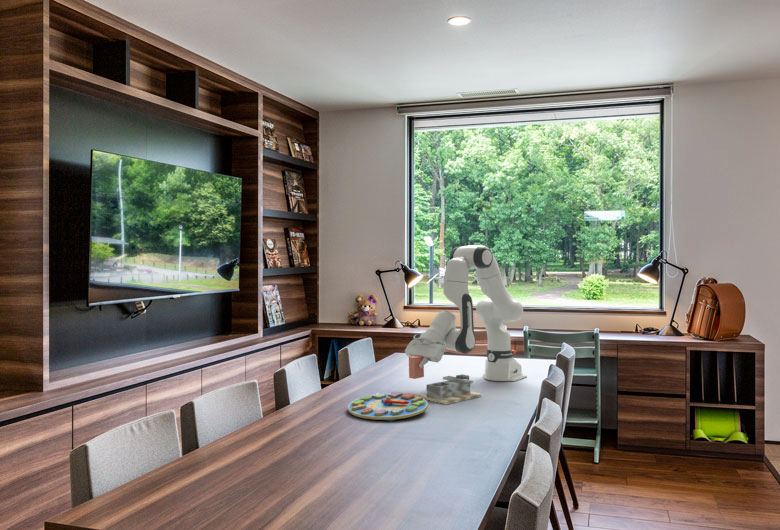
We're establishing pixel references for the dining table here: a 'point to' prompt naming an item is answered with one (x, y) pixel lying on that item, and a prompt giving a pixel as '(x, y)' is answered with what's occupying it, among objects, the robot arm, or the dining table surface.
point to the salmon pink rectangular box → (415, 367)
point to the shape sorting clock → (388, 406)
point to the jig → (450, 390)
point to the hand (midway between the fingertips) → (415, 366)
